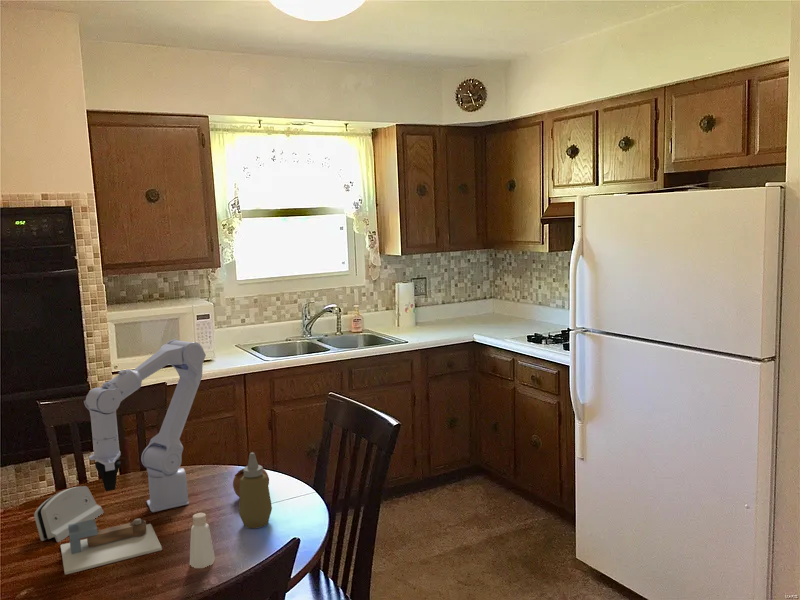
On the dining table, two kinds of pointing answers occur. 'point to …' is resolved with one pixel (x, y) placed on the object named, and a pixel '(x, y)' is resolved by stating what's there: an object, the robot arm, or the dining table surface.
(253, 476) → the squeeze bottle
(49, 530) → the white rounded block
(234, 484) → the onion
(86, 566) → the keeper board
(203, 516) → the pepper shaker
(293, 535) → the dining table surface
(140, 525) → the link arm
